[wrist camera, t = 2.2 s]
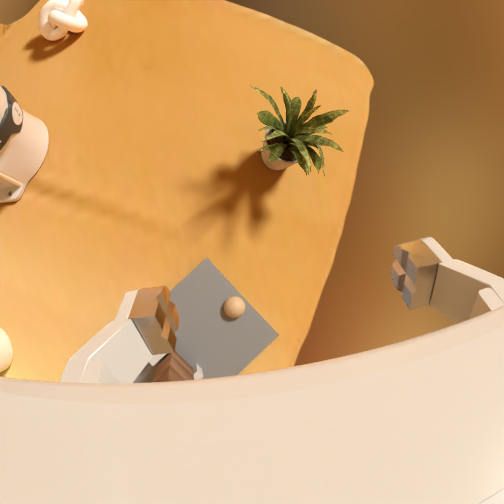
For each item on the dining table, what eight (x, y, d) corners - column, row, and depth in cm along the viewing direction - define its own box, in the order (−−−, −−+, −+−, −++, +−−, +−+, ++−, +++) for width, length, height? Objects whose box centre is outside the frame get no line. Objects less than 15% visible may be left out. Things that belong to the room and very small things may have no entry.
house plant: (213, 177, 48) (228, 131, 32) (241, 109, 50) (264, 51, 34) (296, 208, 50) (344, 179, 34) (315, 139, 52) (361, 94, 36)
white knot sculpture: (66, 10, 43) (59, -15, 35) (105, 13, 45) (100, -15, 37) (38, 42, 42) (26, 17, 33) (76, 46, 44) (66, 18, 35)
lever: (183, 386, 41) (185, 456, 22) (151, 356, 40) (130, 410, 21) (199, 372, 41) (211, 436, 23) (167, 341, 41) (155, 388, 22)
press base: (169, 429, 43) (168, 445, 37) (96, 361, 41) (87, 370, 36) (276, 333, 48) (287, 339, 42) (206, 258, 46) (209, 255, 41)
